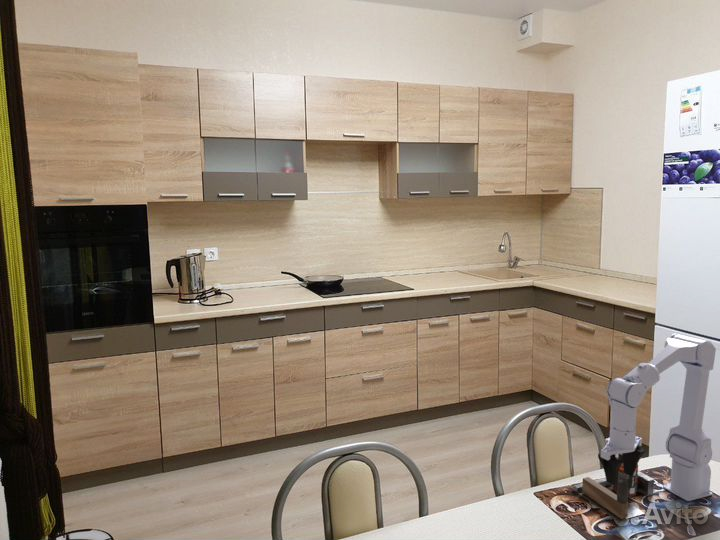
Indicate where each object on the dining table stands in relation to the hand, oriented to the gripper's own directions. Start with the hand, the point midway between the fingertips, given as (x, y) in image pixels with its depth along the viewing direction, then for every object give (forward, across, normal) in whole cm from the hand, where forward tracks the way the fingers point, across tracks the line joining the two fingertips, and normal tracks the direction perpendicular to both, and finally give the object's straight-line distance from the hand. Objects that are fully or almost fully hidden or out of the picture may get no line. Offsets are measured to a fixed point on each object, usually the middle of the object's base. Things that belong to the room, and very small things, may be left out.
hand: (620, 478), depth 137 cm
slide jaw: (+10, -1, -5) cm, 11 cm away
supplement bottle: (+10, -12, -6) cm, 17 cm away
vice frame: (+10, -10, -4) cm, 15 cm away
